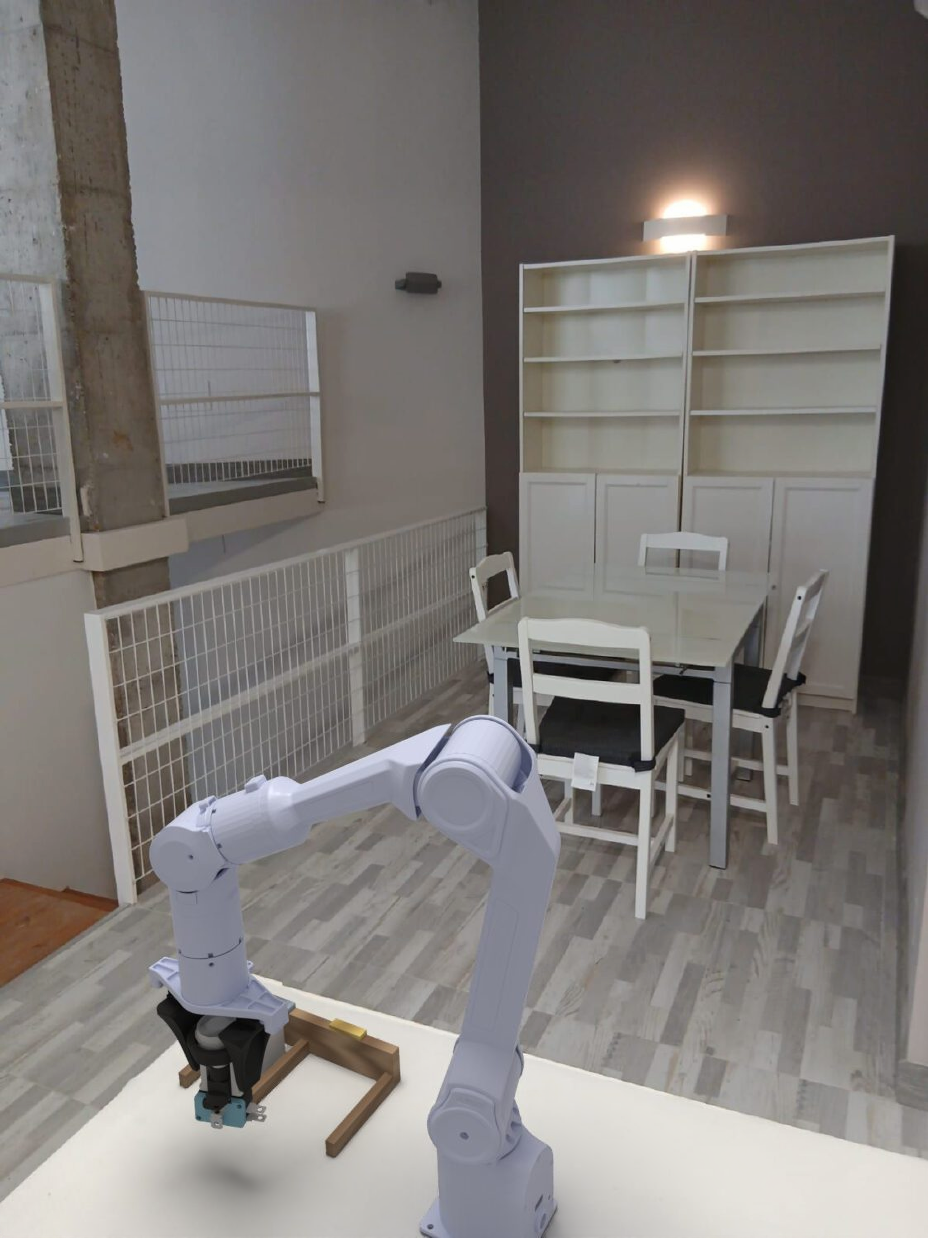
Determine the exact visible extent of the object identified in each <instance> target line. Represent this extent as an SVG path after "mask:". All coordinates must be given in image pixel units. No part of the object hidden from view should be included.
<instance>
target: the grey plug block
mask: <svg viewBox="0 0 928 1238" xmlns="http://www.w3.org/2000/svg"><path fill="white" fill-rule="evenodd" d="M286 1052H287V1051H286V1043H285V1040H284V1029H283V1027H282V1028H281V1029H280V1030H279V1031H278V1032H276V1033H275V1034H274V1035H272V1034H271V1035H270V1038H269V1041H268V1043H267V1047H266V1050H265V1055H264V1059H263V1065H262V1071H261V1076H262V1075H263V1074H264V1073H265V1072H266V1071H267V1070H268V1069H269V1068H270V1067H271V1066H272V1065H273V1064H274V1063H276V1062H277V1061H278V1060H279V1059H280V1058H281V1057H282V1056H283V1055H284V1054H285V1053H286Z"/></svg>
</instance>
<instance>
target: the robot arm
mask: <svg viewBox="0 0 928 1238" xmlns="http://www.w3.org/2000/svg"><path fill="white" fill-rule="evenodd" d="M450 727H452V723H446V724H441V725H436V726H434V727H432V728H430V729H427V730H425V731H422V732H419V733H418V734H415V735H413V736H411V737H408V738H407V739H404V740H402V741H399V742H397V743H394V744H393V745H389V746H388V747H384V748H382V749H381V750H379V751H376V752H373V753H371V754H369V755H366V756H364V757H362V758H360V759H358V760H355V761H353V762H350V763H348V764H345V765H344V766H341V767H339V768H336V769H334V770H331V771H329V772H327V773H324V774H322V775H319V776H317V777H315V778H312V779H310V780H308V781H306V782H304V783H299V782H297V781H295V780H294V779H291V778H290V777H287V776H283V775H281V776H277V777H274V778H271V779H268V780H267V778H266V776H265V774H260V775H257V776H254V777H252V778H250V780H248V781H247V782H246V783H245V784H244V785H243V788H244V789H242V790H240V791H236V792H234V793H231V794H229V795H226V796H223V797H220V798H217V797H216V796H215V795H210V796H208V797H206V798H204V799H202V800H198V801H196V802H194V803H192V804H191V805H190V806H189V807H187V808H186V809H185V810H184V811H182V812H181V813H180V814H179V815H178V816H176V818H173V820H172V821H171V822H170V823H168V824H166V826H164V827H163V828H162V829H161V830H160V831H159V832H158V833H157V834H156V836H155V837H154V838H153V839H152V841H151V843H150V846H149V850H148V851H149V852H148V856H149V862H150V866H151V868H152V870H153V872H154V873H155V876H156V877H157V878H158V879H159V880H160V881H161V882H162V883H163V884H165V885H166V886H167V889H168V897H169V905H170V910H171V919H172V921H171V922H172V928H173V937H174V944H175V950H176V951H175V952H176V958H171V957H167V956H163V957H162V958H161V959H159V960H158V961H156V962H155V963H153V964H152V965H151V966H149V967H148V972H149V980H150V987H152V988H154V989H158V990H159V989H162V988H163V987H165V988H166V989H167V994H166V996H165V997H166V998H165V999H163V1000H162V1001H161V1002H159V1003H158V1004H157V1006H156V1014H157V1016H158V1017H159V1018H160V1019H162V1020H163V1022H164V1023H166V1025H167V1026H168V1027H169V1028H170V1031H171V1032H172V1033H173V1034H174V1036H175V1038H176V1040H177V1041H178V1043H179V1046H180V1047H181V1050H182V1052H183V1053H184V1056H185V1058H186V1060H187V1063H188V1064H189V1065H190V1067H191V1069H192V1070H194V1071H196V1072H197V1071H198V1070H199V1069H200V1064H198V1063H197V1062H196V1061H195V1059H194V1058H193V1056H192V1054H191V1053H190V1050H189V1048H188V1045H187V1035H188V1032H189V1030H190V1029H191V1027H192V1026H193V1025H194V1024H195V1023H197V1022H198V1021H199V1020H200V1019H201V1018H202V1017H203V1016H205V1015H215V1016H227V1017H236V1020H235V1021H233V1022H232V1023H231V1024H229V1025H228V1026H227V1027H226V1028H225V1029H223V1030H222V1031H221V1032H220V1033H219V1034H218V1038H219V1039H220V1040H221V1042H222V1043H223V1044H224V1046H225V1047H226V1049H227V1051H228V1053H229V1056H230V1058H231V1061H232V1065H233V1070H234V1075H235V1081H236V1084H237V1087H238V1089H239V1091H241V1092H243V1093H247V1092H248V1091H249V1090H250V1089H251V1088H252V1087H253V1086H254V1085H255V1084H256V1083H257V1082H258V1081H259V1080H260V1077H261V1071H262V1065H263V1059H264V1055H265V1050H266V1047H267V1043H268V1041H269V1038H270V1035H271V1034H272V1035H274V1034H275V1033H276V1032H278V1031H279V1030H280V1029H281V1028H282V1027H283V1026H284V1025H285V1024H286V1023H288V1022H289V1018H288V1008H287V1002H285V1001H283V1000H281V999H279V998H277V997H276V996H277V995H276V996H274V995H275V994H274V995H273V993H272V992H271V991H270V990H269V989H268V988H267V987H266V986H265V985H263V983H261V982H260V980H258V978H257V977H255V976H254V974H252V973H253V972H254V971H255V966H254V962H252V961H250V960H248V958H247V949H246V948H247V947H246V939H245V930H244V929H245V928H244V920H243V919H244V918H243V912H242V911H243V910H242V903H241V902H242V901H241V893H240V891H241V890H240V882H239V873H238V871H239V869H240V867H239V866H243V865H245V864H248V863H252V862H255V861H257V860H260V859H263V858H265V857H268V856H271V855H275V854H277V853H280V852H283V851H286V850H289V849H292V848H294V847H297V846H300V845H303V844H304V843H305V841H306V840H307V839H308V837H309V835H310V833H311V829H312V827H313V825H315V824H318V823H321V822H325V821H329V820H333V819H336V818H339V817H340V818H341V817H342V816H346V815H347V816H348V815H349V814H350V815H351V814H353V813H356V812H360V811H364V810H366V809H371V808H375V807H377V806H381V805H383V804H387V803H389V804H392V805H394V806H395V807H396V808H397V809H399V810H400V812H401V813H403V814H404V815H405V816H406V817H407V818H408V819H410V821H411V820H412V821H414V822H417V821H418V820H419V818H420V817H421V815H423V816H424V818H425V820H427V822H428V823H429V824H430V825H431V826H432V827H433V828H435V830H437V831H438V832H440V833H441V834H442V835H444V836H445V837H447V838H448V839H450V840H452V841H453V842H454V843H456V844H457V845H459V846H460V847H461V848H463V849H465V850H466V851H468V852H469V853H470V854H472V855H474V856H475V857H477V858H478V859H480V860H481V861H483V862H484V863H486V864H487V865H489V866H490V868H492V870H493V874H492V877H491V878H492V879H491V883H490V887H489V893H488V898H487V902H486V908H485V913H484V918H483V922H482V926H481V927H482V928H481V933H480V937H479V941H478V946H477V947H478V948H477V953H476V957H475V961H474V962H475V963H474V966H473V971H472V976H471V982H470V985H469V986H470V987H469V992H468V995H467V1001H466V1007H465V1011H464V1015H463V1019H462V1025H461V1031H460V1033H459V1035H458V1037H457V1038H456V1040H455V1043H454V1044H453V1045H454V1046H453V1050H452V1056H451V1059H450V1061H449V1064H448V1067H447V1069H446V1072H445V1075H444V1078H443V1081H442V1083H441V1086H440V1088H439V1091H438V1094H437V1096H436V1099H435V1103H434V1104H433V1105H432V1107H431V1108H430V1111H429V1113H428V1115H427V1120H426V1128H427V1134H428V1136H429V1139H430V1141H431V1142H432V1145H433V1146H434V1148H436V1159H437V1163H436V1164H437V1184H438V1188H437V1189H438V1195H437V1198H436V1199H435V1200H434V1202H433V1203H432V1204H431V1206H430V1207H429V1209H428V1211H427V1212H425V1213H426V1214H425V1215H424V1216H423V1218H422V1219H421V1221H420V1223H419V1230H420V1232H421V1233H423V1234H425V1235H426V1236H427V1235H428V1236H429V1237H431V1238H541V1237H542V1236H543V1233H544V1232H545V1230H546V1228H547V1227H548V1224H549V1223H550V1220H551V1219H552V1217H553V1215H554V1213H555V1211H556V1209H557V1208H558V1200H557V1199H555V1197H554V1195H555V1193H554V1188H555V1187H554V1185H555V1183H554V1151H553V1149H552V1147H551V1146H550V1145H548V1144H547V1143H546V1142H544V1141H543V1140H540V1139H539V1138H538V1137H536V1136H535V1135H534V1134H533V1133H532V1132H530V1131H529V1129H528V1128H527V1127H526V1126H525V1125H524V1124H523V1121H522V1116H521V1114H520V1110H519V1109H520V1108H519V1107H518V1104H517V1101H516V1099H515V1098H516V1097H515V1096H516V1094H517V1090H518V1085H519V1081H520V1079H521V1077H522V1076H523V1072H524V1069H525V1068H524V1067H525V1056H524V1053H523V1049H522V1047H521V1044H520V1035H521V1029H522V1021H523V1016H524V1013H525V1008H526V1003H527V998H528V994H529V990H530V986H531V981H532V977H533V973H534V968H535V963H536V959H537V954H538V950H539V946H540V941H541V938H542V933H543V928H544V924H545V920H546V916H547V911H548V906H549V903H550V902H549V901H550V897H551V893H552V888H553V885H554V884H553V883H554V879H555V875H556V871H557V866H558V861H559V857H560V853H561V849H562V848H561V847H562V838H561V833H560V830H559V827H558V825H557V823H556V820H555V817H554V814H553V811H552V809H551V805H550V804H549V800H548V797H547V795H546V793H545V790H544V786H543V785H542V782H541V779H540V774H539V769H538V768H539V767H538V761H537V756H536V752H535V750H534V749H533V748H532V747H531V745H530V744H528V743H527V741H526V740H525V739H524V738H523V737H522V735H520V734H519V732H518V731H517V730H516V729H515V728H514V727H513V726H512V725H511V724H509V722H506V720H503V719H502V718H500V717H497V716H494V715H489V714H477V715H473V716H469V717H467V718H465V719H463V720H461V721H460V722H459V723H457V725H456V726H454V728H453V729H452V731H451V732H450V735H449V736H445V734H446V733H447V732H448V730H449V729H450ZM197 1045H198V1044H197Z"/></svg>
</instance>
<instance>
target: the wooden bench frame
mask: <svg viewBox="0 0 928 1238" xmlns="http://www.w3.org/2000/svg"><path fill="white" fill-rule="evenodd" d="M272 994H273V993H272ZM273 995H274V996H276V997H277V998H279V999H281V1000H283V1001H285V1002H287V1008H288V1018H289V1022H288V1023H286V1024H285V1025H284V1026H283V1029H284V1040H285V1045H290V1046H291V1047H290V1048H288V1050H287V1051H286V1053H285V1054H284V1055H283V1056H282V1057H281V1058H280V1059H279V1060H278V1061H277V1062H276V1063H274V1064H273V1065H272V1066H271V1067H270V1068H269V1069H268V1070H267V1071H266V1072H265V1073H264V1074H263V1075H262V1076H261V1077H260V1080H259V1081H258V1082H257V1083H256V1084H255V1085H254V1086H253V1087H252V1095H253V1101H252V1102H251V1103H256V1105H259V1103H260V1102H261V1101H263V1099H264V1098H265V1097H266V1096H267V1095H269V1093H270V1092H271V1091H272V1090H273V1089H274V1088H275V1087H277V1086H278V1084H279V1083H280V1082H282V1081H283V1079H285V1077H287V1075H289V1074H290V1073H291V1072H292V1071H293V1070H294V1068H296V1067H297V1066H298V1065H299V1064H300V1063H301V1062H302V1061H303V1060H304V1059H306V1057H307V1056H309V1054H311V1055H314V1056H316V1057H318V1058H320V1059H323V1060H326V1061H328V1062H331V1063H333V1064H336V1065H338V1066H340V1067H342V1068H345V1069H347V1070H351V1071H353V1072H356V1073H357V1074H360V1075H363V1076H365V1077H367V1078H369V1079H373V1080H375V1081H376V1082H375V1083H374V1084H373V1085H372V1086H371V1088H370V1089H369V1090H368V1091H367V1092H366V1093H365V1094H364V1096H363V1097H362V1098H361V1099H360V1100H359V1101H358V1102H357V1104H355V1106H354V1107H353V1108H352V1109H351V1110H350V1112H349V1113H348V1114H347V1115H346V1116H345V1117H344V1118H343V1120H342V1121H340V1123H339V1124H338V1125H337V1126H336V1127H335V1128H334V1130H333V1131H332V1132H331V1133H330V1134H329V1135H328V1136H327V1137H326V1138H325V1140H324V1142H325V1154H326V1155H328V1156H330V1157H333V1158H336V1157H337V1156H338V1155H339V1153H340V1152H341V1151H342V1150H343V1149H344V1148H345V1147H346V1145H347V1144H348V1143H349V1142H350V1141H351V1140H352V1138H353V1137H354V1136H355V1134H356V1133H357V1132H359V1130H360V1129H361V1128H362V1127H363V1125H364V1124H365V1123H366V1122H367V1120H369V1118H370V1117H371V1115H373V1113H374V1112H375V1111H376V1110H377V1109H378V1108H379V1106H380V1105H381V1104H382V1103H383V1102H384V1100H385V1099H386V1098H387V1097H388V1096H389V1094H391V1092H392V1091H393V1090H394V1088H396V1086H398V1084H399V1083H400V1082H401V1079H402V1078H401V1059H400V1046H399V1045H395V1044H392V1043H390V1042H387V1041H385V1040H382V1039H381V1038H376V1037H374V1036H372V1035H369V1034H368V1031H367V1029H366V1028H363V1027H361V1026H358V1025H355V1024H353V1023H350V1022H347V1021H345V1020H343V1019H339V1018H338V1017H337V1018H336V1017H335V1018H334V1019H333V1020H330V1019H327V1018H324V1017H322V1016H319V1015H316V1014H314V1013H312V1012H309V1011H307V1010H303V1009H301V1008H299V1007H297V1005H296V1004H297V1003H296V1002H294V1001H292V1000H289V999H287V998H284V997H281V996H279V995H276V994H273ZM199 1078H201V1072H200V1069H199V1070H198V1071H197V1072H196V1071H194V1070H192V1069H191V1067H190V1065H189V1063H188V1064H187V1065H186V1066H184V1067H183V1068H182V1069H181V1070H180V1071H178V1080H179V1081H178V1082H179V1086H182V1087H184V1088H185V1089H188V1088H189V1087H190V1086H191V1085H192V1084H193V1083H195V1081H197V1080H198V1079H199Z"/></svg>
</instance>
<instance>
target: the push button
mask: <svg viewBox="0 0 928 1238" xmlns="http://www.w3.org/2000/svg"><path fill="white" fill-rule="evenodd" d="M235 1020H236V1017H227V1016H215V1015H205V1016H203V1017H202V1018H201V1019H200V1020H199V1021H198V1022H197V1023H195V1024H194V1025H193V1026H192V1027H191V1029H190V1030H189V1032H188V1035H187V1045H188V1048H189V1050H190V1053H191V1054H192V1056H193V1058H194V1059H195V1061H196V1062H197V1063H198V1064H200V1072H201V1076H200V1083H199V1085H198V1086H199V1089H198V1091H197V1093H196V1094H195V1095H194V1098H193V1101H194V1118H195V1120H196V1121H198V1122H204V1123H209V1124H210V1127H211V1128H213V1129H217V1130H222V1129H223V1128H224V1126H225V1127H230V1128H231V1127H233V1128H237V1129H242V1128H244V1127H245V1125H246V1124H247V1122H250V1123H251V1122H261V1123H264V1122H265V1121H266V1119H267V1117H268V1115H267V1114H264V1113H265V1112H266V1110H267V1106H266V1105H265V1106H264V1105H259V1104H257V1105H256V1103H251V1102H252V1101H253V1095H252V1088H251V1089H250V1090H249V1091H248V1092H247V1093H243V1092H241V1091H239V1089H238V1087H237V1084H236V1081H235V1075H234V1070H233V1065H232V1061H231V1058H230V1056H229V1053H228V1051H227V1049H226V1047H225V1046H224V1044H223V1043H222V1042H221V1040H220V1039H219V1038H218V1034H219V1033H220V1032H221V1031H222V1030H223V1029H225V1028H226V1027H227V1026H228V1025H229V1024H231V1023H232V1022H233V1021H235ZM197 1044H198V1045H197ZM258 1109H261V1110H258ZM259 1117H260V1118H259Z"/></svg>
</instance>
